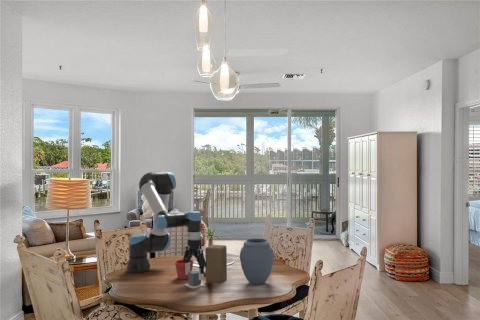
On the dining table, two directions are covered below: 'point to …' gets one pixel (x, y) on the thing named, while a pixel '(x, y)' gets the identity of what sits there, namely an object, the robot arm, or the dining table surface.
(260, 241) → the vase
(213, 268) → the wooden block
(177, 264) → the flower pot
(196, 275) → the grey rectangular block
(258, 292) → the dining table surface
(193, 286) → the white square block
